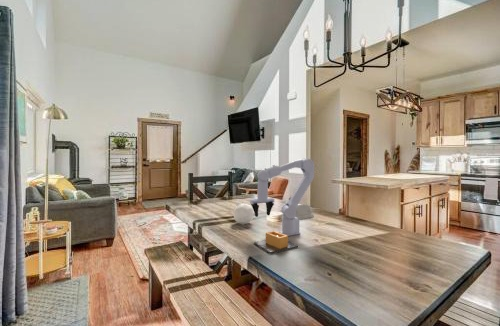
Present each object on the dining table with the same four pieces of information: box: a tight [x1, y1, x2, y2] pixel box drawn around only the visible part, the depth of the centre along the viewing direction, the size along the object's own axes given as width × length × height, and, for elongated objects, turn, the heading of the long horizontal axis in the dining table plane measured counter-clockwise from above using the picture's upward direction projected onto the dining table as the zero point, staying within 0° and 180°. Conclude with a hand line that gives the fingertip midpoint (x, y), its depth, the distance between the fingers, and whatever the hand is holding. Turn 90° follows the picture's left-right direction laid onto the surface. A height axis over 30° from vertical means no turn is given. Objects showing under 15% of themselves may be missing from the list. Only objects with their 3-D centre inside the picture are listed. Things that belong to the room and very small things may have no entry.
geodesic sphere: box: [232, 202, 255, 226], centre depth 164 cm, size 14×14×14 cm
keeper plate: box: [253, 236, 299, 255], centre depth 124 cm, size 16×15×6 cm
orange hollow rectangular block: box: [265, 230, 289, 249], centre depth 123 cm, size 5×10×5 cm, turn 37°
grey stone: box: [295, 204, 314, 220], centre depth 179 cm, size 17×5×10 cm, turn 119°
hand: (262, 215), depth 142 cm, fingers open, 7 cm apart
